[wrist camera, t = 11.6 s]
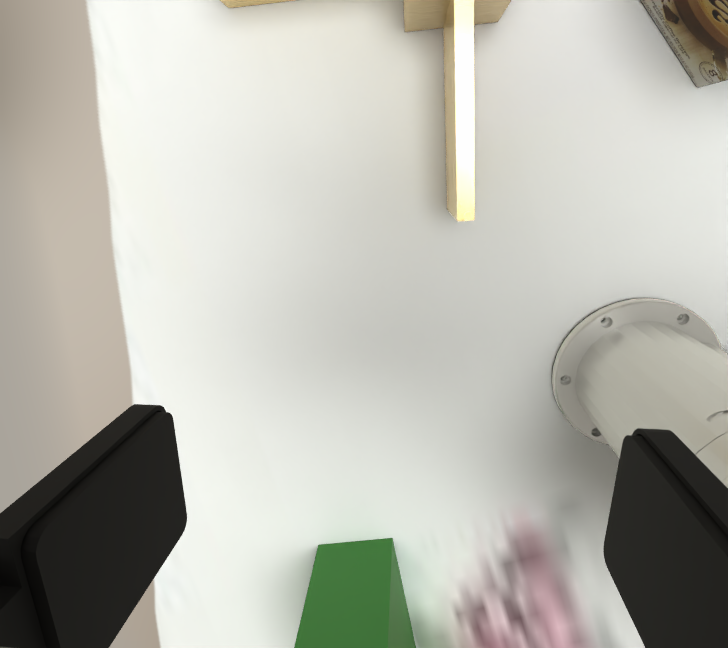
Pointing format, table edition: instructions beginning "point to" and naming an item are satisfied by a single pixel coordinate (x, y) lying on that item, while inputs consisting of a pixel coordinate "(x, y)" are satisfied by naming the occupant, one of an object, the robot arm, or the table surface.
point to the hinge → (449, 82)
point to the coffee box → (695, 35)
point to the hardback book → (355, 599)
